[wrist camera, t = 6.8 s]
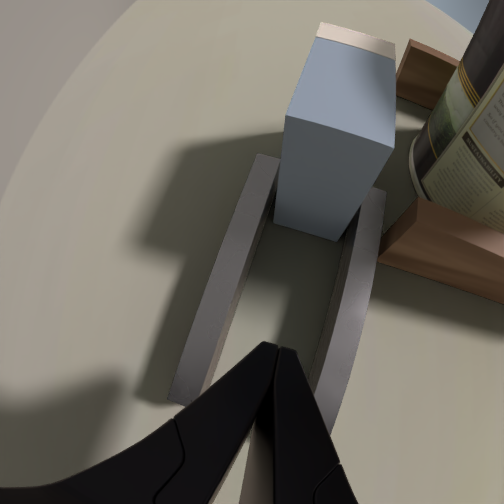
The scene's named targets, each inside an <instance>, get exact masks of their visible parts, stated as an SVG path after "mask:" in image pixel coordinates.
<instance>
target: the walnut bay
mask: <svg viewBox="0 0 504 504" xmlns="http://www.w3.org/2000/svg"><path fill="white" fill-rule="evenodd" d="M459 63H460V61H458V60H456V59H454V58H452V57H450V56H448V55H446V54H444V53H442V52H440V51H437V50H435V49H433V48H431V47H429V46H426V45H424V44H422V43H419V42H417V41H414V40H412V39H410V40H409V42H408V45H407V48H406V50H405V53H404V55H403V58H402V60H401V63H400V65H399V68H398V70H397V73H396V96H399V97H402V98H404V99H407V100H409V101H412V102H414V103H417V104H419V105H421V106H424V107H426V108H428V109H431V110H433V109H434V108H435V106H436V104H437V102H438V101H439V99H440V97H441V96H442V94H443V92H444V90H445V88H446V86H447V84H448V83H449V81H450V79H451V77H452V76H453V74H454V72H455V70H456V68H457V66H458V65H459ZM377 262H379V263H383V264H386V265H389V266H392V267H395V268H398V269H401V270H404V271H407V272H410V273H413V274H417V275H420V276H423V277H426V278H429V279H432V280H435V281H438V282H441V283H444V284H447V285H449V286H452V287H455V288H458V289H461V290H464V291H467V292H470V293H473V294H476V295H479V296H481V297H484V298H487V299H490V300H493V301H496V302H498V303H501V304H504V234H502V233H500V232H498V231H496V230H494V229H492V228H490V227H488V226H486V225H484V224H482V223H479V222H477V221H475V220H473V219H471V218H468V217H466V216H464V215H462V214H459V213H457V212H455V211H452V210H450V209H448V208H445V207H443V206H441V205H438V204H436V203H433V202H431V201H428V200H426V199H423V198H421V197H417V198H416V199H415V201H414V202H413V203H412V204H411V205H410V206H409V207H408V209H407V210H406V211H405V212H404V213H403V214H402V215H401V216H400V217H399V219H398V220H397V221H396V222H395V223H394V224H393V225H392V226H391V227H390V228H389V229H388V231H387V232H386V233H385V234H384V235H383V236H382V237H381V239H380V245H379V251H378V257H377Z"/></svg>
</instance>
